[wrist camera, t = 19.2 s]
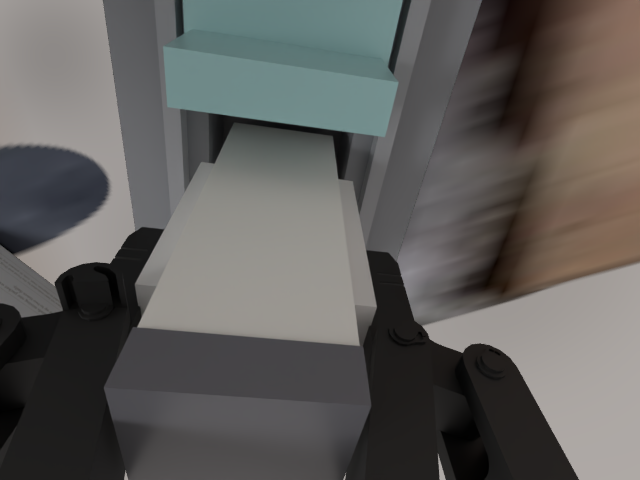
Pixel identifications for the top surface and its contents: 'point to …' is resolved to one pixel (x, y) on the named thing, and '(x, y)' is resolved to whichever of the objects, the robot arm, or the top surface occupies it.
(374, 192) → the socket housing
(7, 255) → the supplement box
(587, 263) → the top surface
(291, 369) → the grey rectangular block
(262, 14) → the shutter
